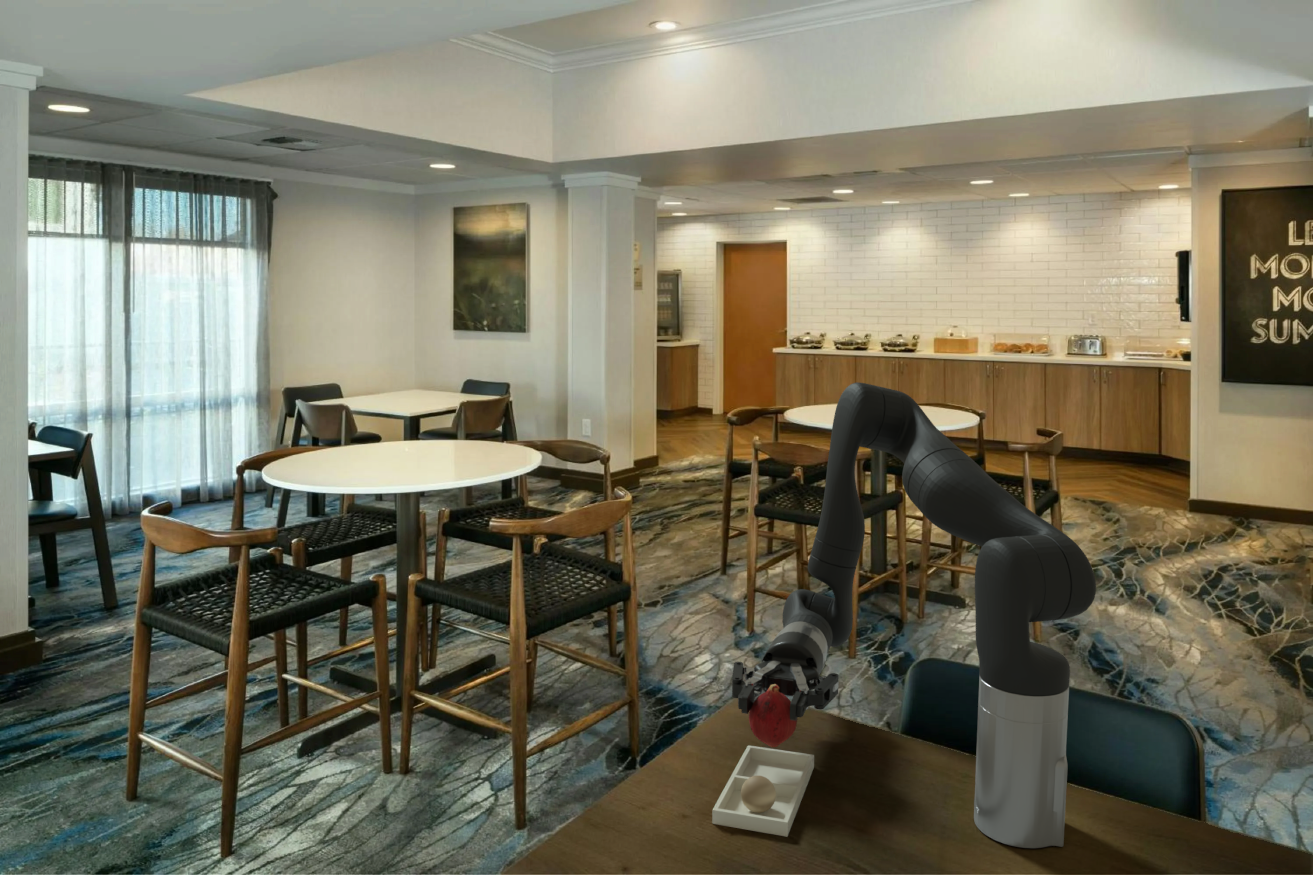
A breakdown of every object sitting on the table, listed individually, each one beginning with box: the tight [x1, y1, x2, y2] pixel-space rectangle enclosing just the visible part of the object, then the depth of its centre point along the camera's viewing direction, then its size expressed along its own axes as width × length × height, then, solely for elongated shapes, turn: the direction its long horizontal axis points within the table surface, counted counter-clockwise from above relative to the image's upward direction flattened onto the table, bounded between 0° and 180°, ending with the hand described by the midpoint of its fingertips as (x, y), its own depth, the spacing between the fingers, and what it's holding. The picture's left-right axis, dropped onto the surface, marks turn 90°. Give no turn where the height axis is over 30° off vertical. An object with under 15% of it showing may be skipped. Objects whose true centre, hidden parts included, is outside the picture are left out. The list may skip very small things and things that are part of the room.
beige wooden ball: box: [741, 776, 776, 813], centre depth 109 cm, size 4×4×4 cm
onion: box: [748, 684, 798, 748], centre depth 116 cm, size 6×6×8 cm
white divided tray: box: [711, 744, 815, 838], centre depth 113 cm, size 8×16×2 cm, turn 161°
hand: (768, 709), depth 113 cm, fingers closed on onion, 5 cm apart
